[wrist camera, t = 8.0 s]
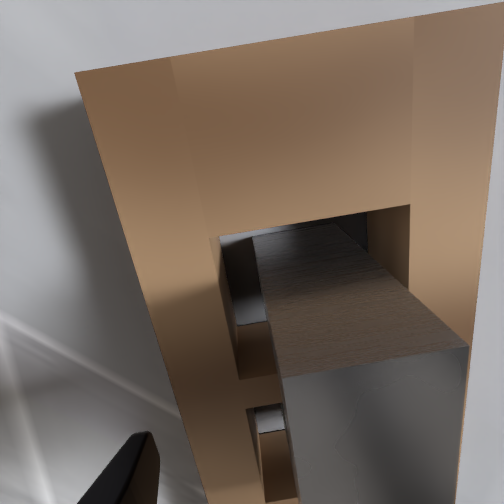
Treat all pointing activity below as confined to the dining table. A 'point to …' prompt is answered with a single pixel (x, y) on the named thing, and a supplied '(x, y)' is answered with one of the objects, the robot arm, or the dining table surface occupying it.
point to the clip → (360, 374)
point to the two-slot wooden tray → (295, 195)
